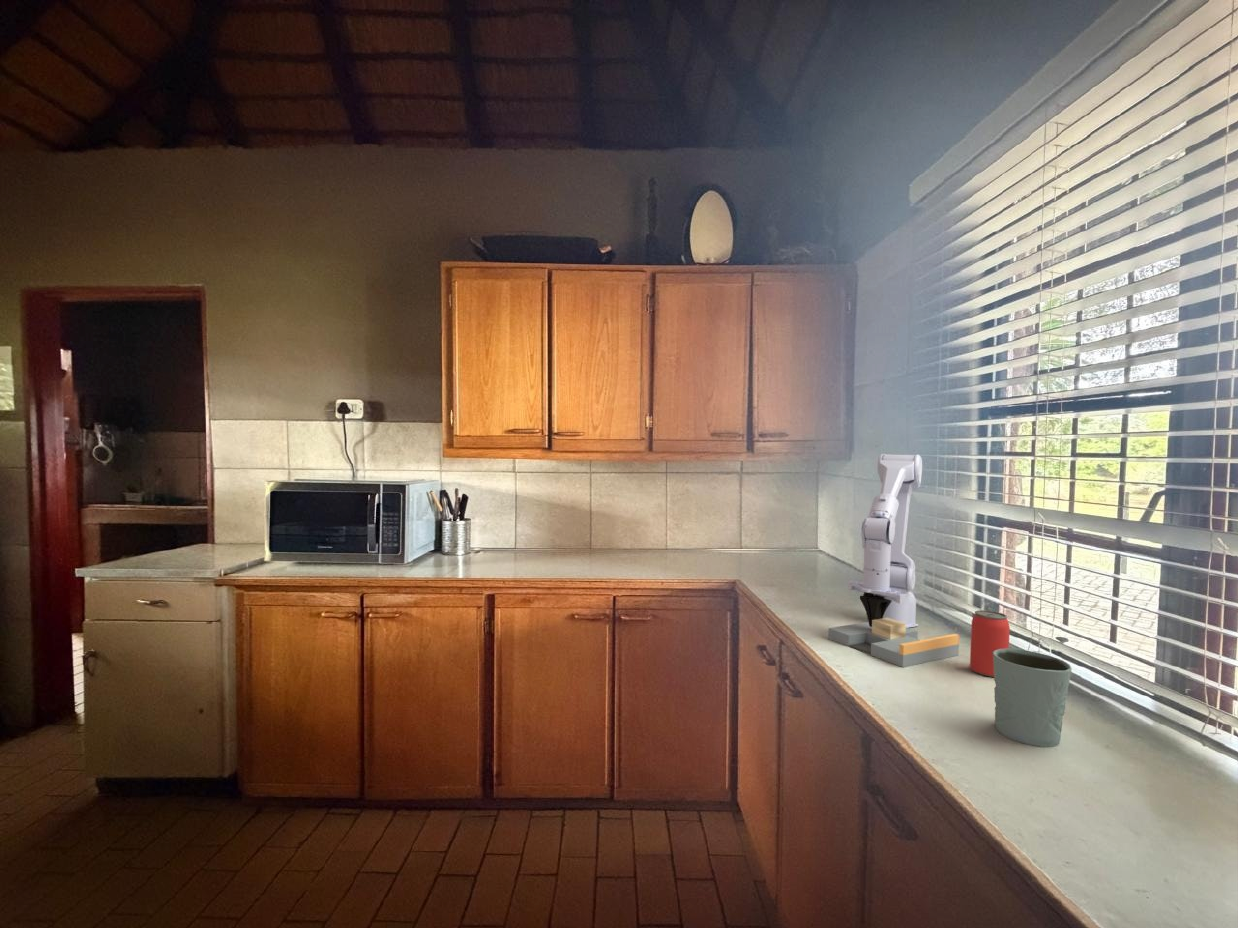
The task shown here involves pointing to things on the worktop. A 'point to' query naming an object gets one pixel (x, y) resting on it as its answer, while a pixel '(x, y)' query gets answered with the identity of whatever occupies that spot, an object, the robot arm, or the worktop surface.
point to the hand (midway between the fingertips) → (874, 626)
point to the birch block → (888, 628)
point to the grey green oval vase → (1030, 696)
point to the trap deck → (896, 645)
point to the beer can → (987, 640)
